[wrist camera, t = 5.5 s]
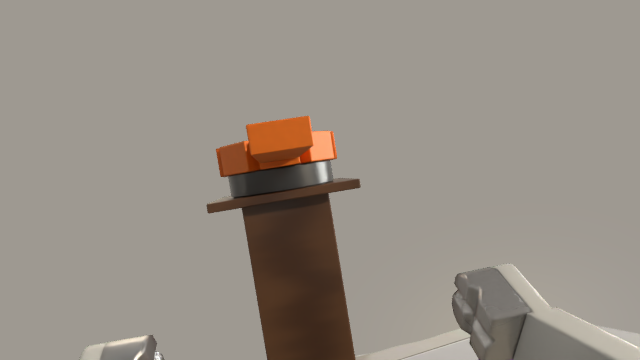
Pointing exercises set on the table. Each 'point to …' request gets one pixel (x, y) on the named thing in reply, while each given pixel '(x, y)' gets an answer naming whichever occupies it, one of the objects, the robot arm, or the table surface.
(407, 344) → the table surface
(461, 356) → the table surface
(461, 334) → the table surface
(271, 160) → the orange ring
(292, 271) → the stand
